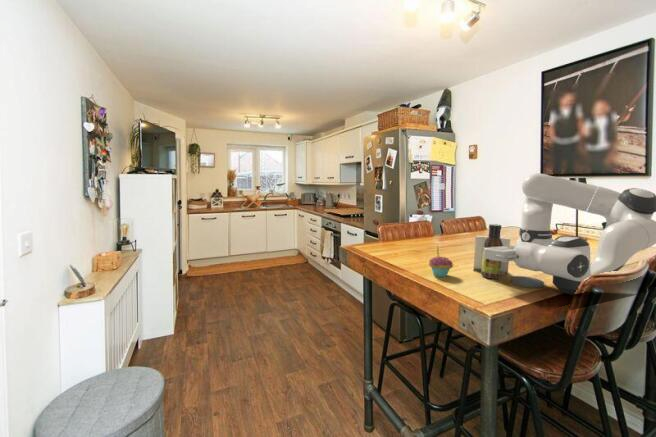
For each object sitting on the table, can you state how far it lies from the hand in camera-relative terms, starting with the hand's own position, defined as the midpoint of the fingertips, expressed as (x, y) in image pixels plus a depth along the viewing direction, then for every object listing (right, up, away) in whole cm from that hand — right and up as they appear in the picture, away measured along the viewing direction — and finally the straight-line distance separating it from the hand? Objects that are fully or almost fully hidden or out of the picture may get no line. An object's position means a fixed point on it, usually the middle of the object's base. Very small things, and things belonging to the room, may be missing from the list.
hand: (492, 248), depth 119 cm
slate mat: (+9, -12, -6) cm, 16 cm away
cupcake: (-18, -11, +3) cm, 21 cm away
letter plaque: (+3, -10, +8) cm, 14 cm away
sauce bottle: (0, -11, +1) cm, 11 cm away
